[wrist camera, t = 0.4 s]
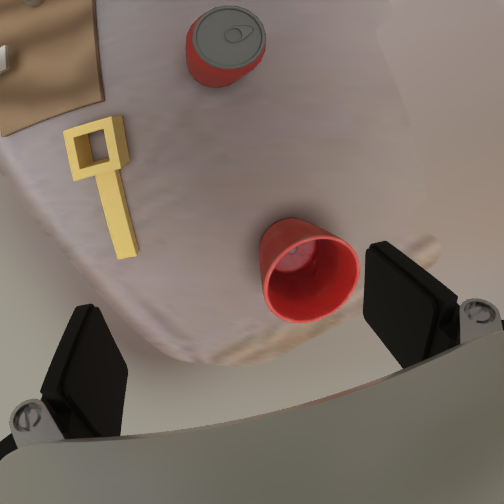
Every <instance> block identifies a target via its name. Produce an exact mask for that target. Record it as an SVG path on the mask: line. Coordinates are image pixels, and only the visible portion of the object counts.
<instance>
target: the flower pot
mask: <svg viewBox="0 0 504 504" xmlns="http://www.w3.org/2000/svg"><path fill="white" fill-rule="evenodd" d="M260 270H261V280H262V289H263V295H264V299H265V302H266V304H267V306H268V308H269V309H270V310H271V312H272V313H273V314H275V315H276V316H277V317H279V318H280V319H282V320H285V321H288V322H292V323H308V322H313V321H317V320H320V319H322V318H325V317H327V316H329V315H330V314H332V313H334V312H335V311H336V310H338V309H339V308H340V307H341V306H342V305H343V304H344V303H345V302H346V301H347V300H348V299H349V297H350V296H351V294H352V293H353V291H354V289H355V287H356V285H357V282H358V278H359V273H360V265H359V260H358V257H357V254H356V252H355V251H354V249H353V248H352V247H351V246H350V245H349V244H348V243H347V242H346V241H344V240H342V239H341V238H339V237H337V236H335V235H333V234H331V233H329V232H327V231H325V230H323V229H321V228H319V227H317V226H315V225H313V224H311V223H308V222H306V221H303V220H300V219H295V218H288V219H283V220H280V221H278V222H276V223H275V224H273V225H272V226H271V227H269V228H268V229H267V231H266V232H265V233H264V235H263V237H262V239H261V243H260Z"/></svg>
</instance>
